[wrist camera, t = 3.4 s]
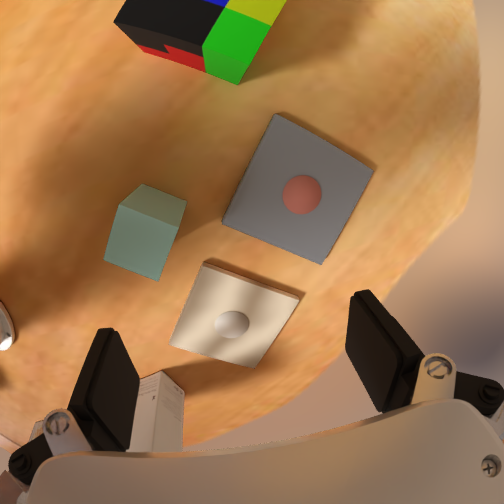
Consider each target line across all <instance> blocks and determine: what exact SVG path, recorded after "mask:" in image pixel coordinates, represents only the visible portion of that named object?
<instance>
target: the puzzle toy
mask: <svg viewBox="0 0 504 504" xmlns="http://www.w3.org/2000/svg"><path fill="white" fill-rule="evenodd" d="M286 1H287V0H126V1H125V3H124V5H123V6H122V8H121V9H120V11H119V13H118V15H117V16H116V18H115V20H114V21H113V22H114V23H115V24H116V25H117V26H118V27H119V28H120V29H121V30H122V31H123V32H124V33H125V34H126V35H127V36H128V37H129V38H130V39H131V40H132V41H133V42H134V43H135V44H136V45H137V46H138V47H139V48H141V49H142V50H143V51H144V52H145V53H149V54H152V55H156V56H159V57H162V58H165V59H168V60H172V61H175V62H178V63H181V64H184V65H186V66H189V67H192V68H195V69H198V70H200V71H203V72H206V73H208V74H211V75H214V76H216V77H219V78H221V79H224V80H226V81H229V82H231V83H233V84H236V85H238V84H239V82H240V80H241V79H242V77H243V75H244V74H245V72H246V70H247V69H248V67H249V65H250V64H251V62H252V60H253V58H254V56H255V54H256V52H257V51H258V49H259V47H260V45H261V43H262V42H263V40H264V38H265V36H266V35H267V33H268V31H269V29H270V28H271V26H272V24H273V22H274V21H275V19H276V17H277V16H278V14H279V12H280V11H281V9H282V7H283V6H284V4H285V3H286Z"/></svg>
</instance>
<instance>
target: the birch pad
mask: <svg viewBox="0 0 504 504" xmlns="http://www.w3.org/2000/svg"><path fill="white" fill-rule="evenodd" d="M299 301H300V300H299V298H298V296H296V295H293V294H290V293H287V292H285V291H282V290H279V289H276V288H273V287H271V286H268V285H265V284H262V283H260V282H257V281H254V280H251V279H249V278H246V277H243V276H240V275H238V274H235V273H232V272H230V271H227V270H224V269H222V268H219V267H216V266H214V265H211V264H208V263H206V262H203V263H202V265H201V267H200V270H199V272H198V274H197V276H196V279H195V281H194V283H193V285H192V288H191V290H190V292H189V295H188V297H187V299H186V302H185V304H184V306H183V309H182V311H181V313H180V316H179V318H178V320H177V323H176V325H175V328H174V330H173V332H172V335H171V337H170V340H169V345H171V346H174V347H178V348H181V349H184V350H187V351H191V352H194V353H197V354H201V355H204V356H208V357H211V358H215V359H218V360H222V361H226V362H230V363H234V364H237V365H241V366H245V367H250V368H254V369H255V367H256V366H257V364H258V363H259V362H260V360H261V359H262V357H263V356H264V354H265V353H266V351H267V350H268V348H269V347H270V345H271V344H272V342H273V341H274V339H275V338H276V336H277V335H278V333H279V332H280V330H281V329H282V327H283V326H284V324H285V323H286V321H287V320H288V318H289V316H290V315H291V313H292V312H293V310H294V309H295V307H296V305H297V304H298V302H299Z"/></svg>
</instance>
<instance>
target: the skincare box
mask: <svg viewBox="0 0 504 504" xmlns="http://www.w3.org/2000/svg"><path fill="white" fill-rule="evenodd" d="M184 396H185V392H184V391H183V390H182V389H181V388H180V387H179V386H178V385H177V384H176V383H174V382H173V381H172V379H171V378H170V377H168V376H167V375H166V374H165V373H164V372H163V371H159V372H157V373H155V374H153V375H151V376H148V377H145V378H143V379H140V387H139V392H138V398H137V403H136V409H135V415H134V422H133V428H132V435H131V442H130V448H129V449H128V450H126V452H182V443H183V415H184Z"/></svg>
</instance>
